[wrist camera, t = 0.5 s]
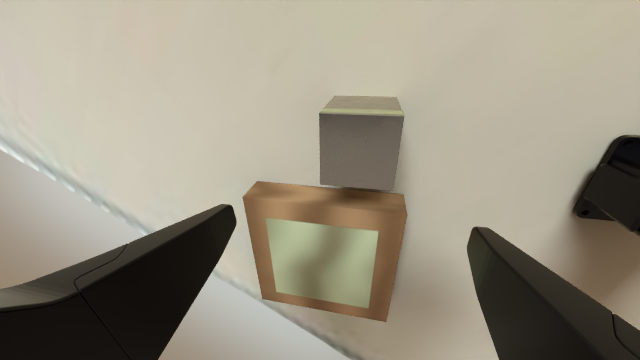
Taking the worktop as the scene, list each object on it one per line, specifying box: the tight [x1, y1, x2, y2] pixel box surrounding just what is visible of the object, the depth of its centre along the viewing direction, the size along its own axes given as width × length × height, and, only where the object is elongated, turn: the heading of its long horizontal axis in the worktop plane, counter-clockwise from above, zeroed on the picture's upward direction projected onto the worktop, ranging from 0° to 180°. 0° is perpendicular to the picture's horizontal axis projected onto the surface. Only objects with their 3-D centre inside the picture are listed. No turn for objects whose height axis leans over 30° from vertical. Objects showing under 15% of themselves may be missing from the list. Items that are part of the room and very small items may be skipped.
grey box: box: [319, 96, 404, 191], centre depth 17 cm, size 5×5×6 cm
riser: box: [243, 181, 407, 322], centre depth 25 cm, size 14×14×3 cm
